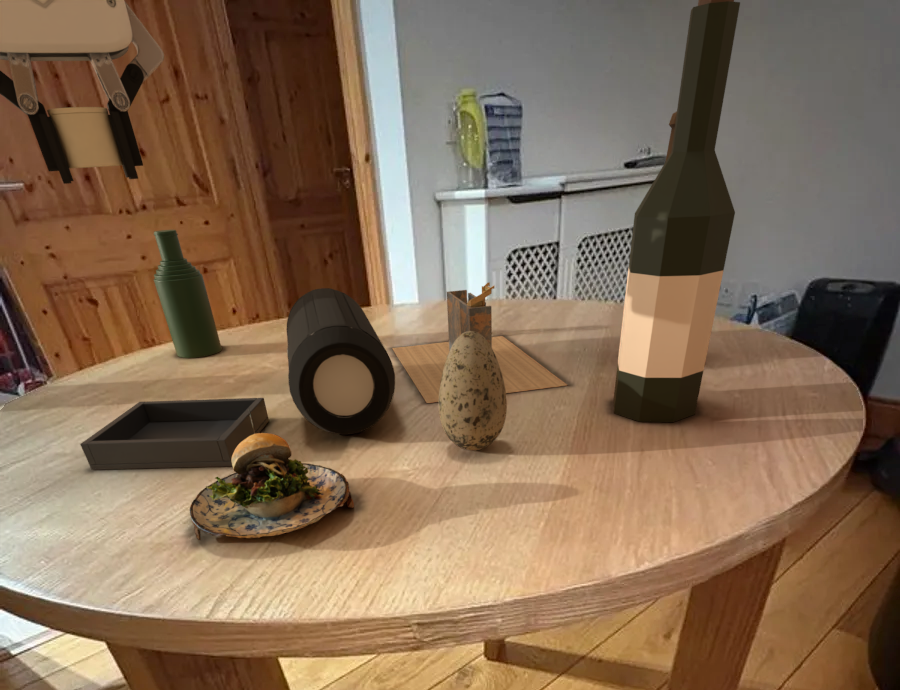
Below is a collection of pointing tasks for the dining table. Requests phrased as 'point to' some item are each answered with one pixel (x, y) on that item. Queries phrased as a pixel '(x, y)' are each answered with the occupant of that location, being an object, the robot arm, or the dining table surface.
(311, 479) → the burger
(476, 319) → the architectural model on board
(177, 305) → the bottle
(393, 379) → the portable speaker
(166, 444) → the tray
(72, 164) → the cap
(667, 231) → the wine bottle
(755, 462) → the dining table surface
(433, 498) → the dining table surface
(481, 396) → the decorative egg
